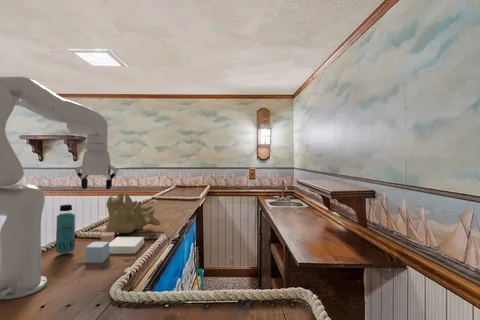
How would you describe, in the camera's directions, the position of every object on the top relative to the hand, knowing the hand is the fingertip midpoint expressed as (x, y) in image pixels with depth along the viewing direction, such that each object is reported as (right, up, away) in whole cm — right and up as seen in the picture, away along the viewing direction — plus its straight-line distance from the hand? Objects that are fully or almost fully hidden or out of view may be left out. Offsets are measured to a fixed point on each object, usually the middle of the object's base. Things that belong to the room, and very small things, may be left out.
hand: (96, 188), depth 113 cm
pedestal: (+11, -26, +3) cm, 28 cm away
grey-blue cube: (+6, -26, -10) cm, 29 cm away
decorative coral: (+4, -25, +26) cm, 37 cm away
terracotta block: (+2, -26, +6) cm, 27 cm away
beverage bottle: (-10, -26, -5) cm, 28 cm away
